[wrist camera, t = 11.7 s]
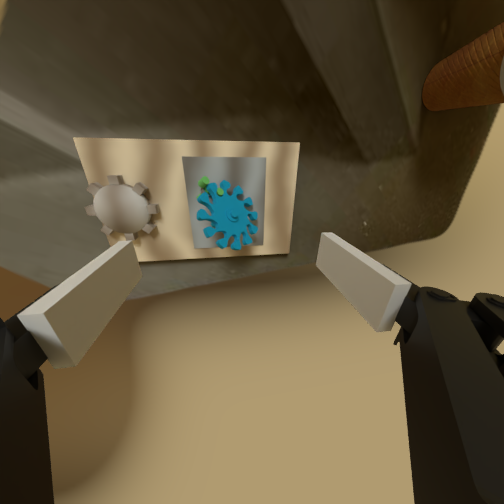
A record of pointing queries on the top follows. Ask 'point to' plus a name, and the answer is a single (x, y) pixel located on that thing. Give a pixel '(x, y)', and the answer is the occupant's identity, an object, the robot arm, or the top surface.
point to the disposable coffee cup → (468, 75)
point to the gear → (226, 213)
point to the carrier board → (188, 193)
